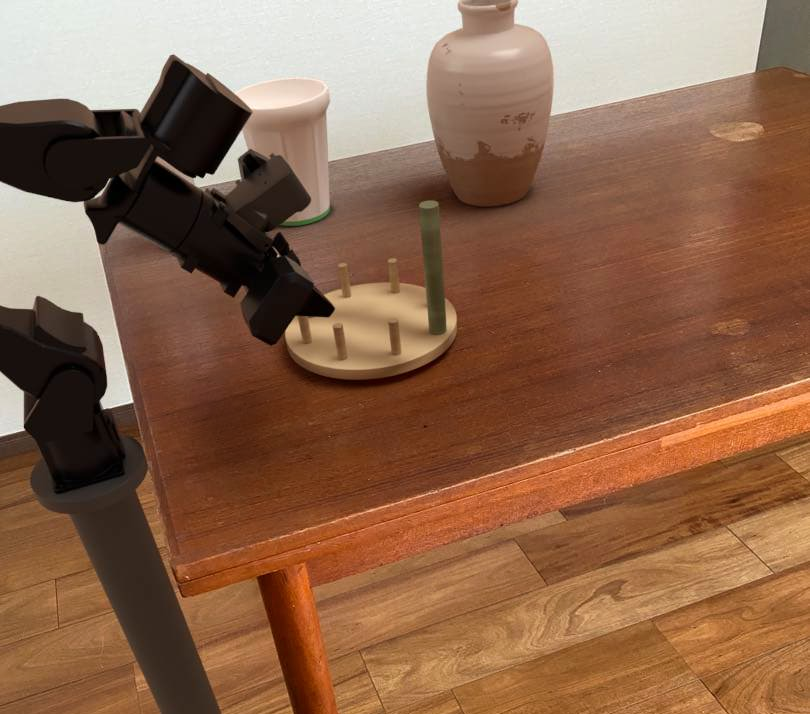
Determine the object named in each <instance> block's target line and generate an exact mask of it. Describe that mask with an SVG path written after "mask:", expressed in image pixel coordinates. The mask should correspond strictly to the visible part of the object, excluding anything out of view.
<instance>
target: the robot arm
mask: <svg viewBox="0 0 810 714" xmlns="http://www.w3.org/2000/svg"><path fill="white" fill-rule="evenodd" d="M160 73H161V74H160V76H159V79H158V81H157V83H156V85H155V87H154V88H153V90H152V92H151V94H150V95H149V97H148V99H147V101H146V102H145V103H144V106H143V108H142V109H141V111H140V110H139V109H138V108H119V109H118V108H117V109H113V108H112V109H89V107H88V106H87V105H85V104H83V103H81V102H80V101H77V100H74V99H70V98H49V99H48V98H47V99H35V100H23V101H22V100H21V101H15V102H11V103H6V104H3V105H0V183H2V184H5V185H7V186H9V187H12V188H14V189H16V190H19V191H21V192H24V193H29V194H31V195H32V194H33V195H37V196H41V197H46V198H51V199H55V200H59V201H63V202H69V203H83V208H84V213H85V215H86V216H87V218H88V220H89V221H90V223H91V226H92V227H93V230H94V234H95V239H96V242H97V243H98V244H99V245H102V246H103V245H106V244H107V243H108V241H109V239H110V238H111V236H112V235H113V232H114V231H115V229H116V227H117V226H118V225H119V226H121V227H123V228H125V229H127V230H128V231H130V232H131V233H133V234H134V235H137V236H138V237H140V238H142V239H143V240H145V241H148V242H149V243H151V244H153V245H154V246H156V247H158V249H159V248H160V249H161V250H162V251H164V252H166V253H168V254H169V255H171V256H172V257H175V258H176V259H177V262H178V264H179V267H180V268H181V269H183V270H184V271H186V272H188V273H190V274H191V275H192V274H193V273H194V271H195V270H196V271H198V272H200V273H202V274H204V275H206V276H207V277H209V278H211V279H212V280H214V281H216V282H218V283H219V286H220V287H221V289H222V291H223V293H224V294H226V295H227V296H230V297H231V298H232V299H234V298H235V297H236V295H237V294H238V292H240V289H241V288H242V286H243V288H244V290H245V292H246V294H245V295H244V297H243V298H242V300H241V301H240V303H239V304H240V305H239V306H240V309H241V314H242V318H243V320H244V322H245V324H246V326H247V328H248V330H249V332H250V334H251V336H252V337H254V338H256V339H257V340H259V341H261V342H262V343H265V344H267V345H268V346H270V347H272V346H274V345H276V344H278V342H279V341H280V340H281V338H282V337H283V335H284V334H285V331H286V329H287V328H288V326H289V325H290V323H291V322H292V320H293V319H294V317H295V316H308V317H327V318H328V317H330V316H331V315H332V313H333V312H334V311H335V307H334V306H333V304H332V303H331V302H330V301H329V300H328V299H327V298H326V297H325V296H324V295H325V294H323V292H321V291H320V289H318V288H317V287H316V286H315V282H314V280H312V278H311V276H310V275H309V274H308V272H307V271H306V270H305V269H304V268H303V267H302V263H301V260H300V258H299V257H298V255H297V253H296V252H295V251H294V249H293V248H290V244H289V242H288V240H287V239H286V238H285V236H284V234H283V233H282V232H281V231H278V232H277V233H276V234H275V236H274V237H273V236H271V235H270V234H268V233H270V232H272V231H274V230H276V229H277V228H278V227H279V226H282V225H281V224H282V223H283V222H285V221H286V220H287V219H289V218H290V217H291V216H292V215H294V214H295V213H296V212H302V211H303V210H304V209H305V208H307V207H308V205H309V204H310V202H311V197H310V195H309V194H308V192H307V191H306V189H305V188H304V186H303V185H302V183H301V182H300V180H299V179H298V177H297V176H296V174H295V173H294V171H293V170H292V169H291V167H290V166H289V164H288V163H287V162H286V161H285V160H284V158H283V157H282V156H281V155H277V156H275V155H274V154H273V153H272V154H271V155H269V156H270V158H271V159H268V158H267V157H265V156H263V155H262V154H260V153H258V152H256V151H254V150H252V149H249V150H248V149H247V150H246V151H245V152H244V153H243V154H241V155H240V156H239V157H237V163H238V168H239V175H240V179H241V180H240V179H237V180H235V182H234V183H235V185H236V186H235V187H234V188H233V189H232V190H231V191H229V192H228V193H227V194H224V193H222V192H221V191H219V190H218V189H216V188H214V187H212V188H211V189H210V188H208V187H206V188H205V190H203V189H201V188H200V187H198V186H197V185H193V184H192V183H190V182H189V181H187V180H186V179H184V178H183V177H181V176H180V175H178V174H176V173H175V172H173V171H172V170H170V169H169V168H167V167H166V166H164V165H163V164H161V163H159V162H158V161H156V158H157V157H160V158H161V159H163V160H164V161H166V162H167V163H168V164H170V165H171V166H172V167H174V168H175V169H177V170H178V171H180V172H181V173H183V174H185V175H187V176H189V177H191V178H194V179H196V178H197V177H198V178H200V179H204V178H205V176H206V175H210V176H211V175H212V176H213V175H215V173H216V172H217V170H219V169H218V168H219V167H220V166H221V164H222V162H223V161H224V159H225V158H226V156H227V154H228V153H229V151H230V150H231V148H232V146H233V145H234V144H235V142H236V140H237V139H238V137H239V135H240V134H241V132H242V129H243V127H244V126H245V124H246V122H247V121H248V119H249V118H250V116H251V114H252V110H251V109H250V108H249V107H248V106H247V105H246V104H245V103H244V102H243V101H242V100H241V99H240V98H239V97H238V96H237V95H235V94H234V93H235V92H233V91H232V90H231V89H230V88H228V87H227V85H225V84H223V83H222V82H221V81H220V80H218V79H217V78H216V77H214V75H212V74H210V73H209V72H206V73H204V72H203V71H202V70H200V69H199V68H197V67H196V66H194V65H191V64H190V63H188V62H185V61H184V60H183V59H181V58H179V57H178V56H177V55H176V54H170V55H169V57H168V58H167V60H166V62H165V63H164V65H163V67H162V69H161V72H160ZM101 192H102V193H101ZM100 193H101V195H99V196H97V195H98V194H100ZM96 196H97V197H96ZM0 373H1V374H2V375H3V376H4V377H6V378H7V380H9V381H10V383H12V384H13V385H14V386H16V387H17V388H18V389H19V390H21V391H22V392H23V430H24V431H25V432H26V433H28V435H29V436H31V437H32V439H33V440H34V442H35V444H36V446H37V449H38V451H39V453H40V455H41V458H42V457H43V460H44V462H45V464H46V466H47V468H48V470H49V472H50V475H51V480H52V489H53V491H54V493H55V494H61V493H65V492H68V491H72V490H75V489H79V488H82V487H86V486H89V485H93V484H96V483H100V482H103V481H107V480H110V479H114V478H117V477H121V476H123V475H124V474H125V469H124V464H123V459H125V457H126V453H125V448H124V444H123V441H122V438H121V435H120V433H121V432H120V431H119V428H118V425H117V422H116V420H115V416H114V414H113V412H112V410H111V408H108V407H106V408H104V406H103V404H102V401H101V400H102V399H103V398H104V396H105V395H106V391H107V388H108V375H107V367H106V360H105V353H104V344H103V342H102V340H101V337H100V336H99V333H98V331H97V330H96V329H95V328H94V327H93V326H92V325H90V324H89V323H87V322H85V320H84V313H83V312H78V311H70V310H68V309H64V308H62V307H61V306H59V305H57V304H55V303H54V302H52V301H51V300H49V299H48V298H46V297H43V296H41V295H36V296H35V298H34V302H33V305H32V308H14V307H13V308H11V307H6V306H4V305H0Z"/></svg>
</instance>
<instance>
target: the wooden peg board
mask: <svg viewBox="0 0 810 714" xmlns="http://www.w3.org/2000/svg"><path fill="white" fill-rule="evenodd" d="M418 211H419V222H420V237H421V247H422V259H423V271H424V273H423V277H424V286H420V285H416V284H411V283H405V282H400V275H399V267H398V259H397V258H394V257H393V258H392V257H391V258H389V259H387V266H388V267H387V268H388V276H389V277H388V278H389V282H370V283H361V284H356V285H351V281H350V275H349V269H348V267H349V266H348V264H347V262H341V263H338V264H337V268H338V275H339V282H340V288H339V289H336V290H332V291H329V292H327V293H325V294H323V295H324V296H325V297H326V298H327V299H328V300H329V301H330V302H331V303H332V304H333V306H334V307H335V311H334V312H333V313H332V315H331V316H330V317H328V318H327V317H308V316H295V317H294V319H293V320H292V322H291V323H290V325H289V326H288V328H287V329H286V330H285V332H284V338H285V344H286V347H287V348H286V349H287V352H288V353H289V355H290V357H291V358H292V359H293V361H294V362H295V363H296V364H298V365H299V366H300V367H301V368H303V369H305V370H307V371H309V372H311V373H314V374H316V375H319V376H323V377H327V378H331V379H339V380H347V381H348V380H351V381H353V380H354V381H355V380H356V381H361V380H362V381H363V380H376V379H383V378H388V377H393V376H398V375H401V374H405V373H408V372H410V371H414V370H417V369H418V368H421V367H423V366H425V365H427V364H429V363H431V362H433V361H434V360H436V359H437V358H438V357H440V356H441V355H443V354H444V353H445V352H447V350H448V349H449V348H450V346H451V345H452V344H453V342H454V340H455V338H456V336H457V333H458V315H457V312H456V308H455V307H454V305H453V303H451V302H450V300H449V299H447V298H446V296H445V294H446V293H445V281H444V280H445V279H444V265H443V248H442V235H441V234H442V233H441V221H440V220H441V219H440V217H441V216H440V205H439V202H438V201H436V200H424V201H422V202H420V203H419V205H418Z"/></svg>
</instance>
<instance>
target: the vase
mask: <svg viewBox="0 0 810 714" xmlns="http://www.w3.org/2000/svg"><path fill="white" fill-rule="evenodd" d="M518 4H519V0H459V1H458V2H457V10H458V12H460V15H461V25H462V27H461V28H457V29H456V30H453V31H451V32H448V33H446V34H445V35H443V37H441V38H440V39H439V40H438V41H436V42H435V44H434V47H433V48H432V50H431V51H430V55H429V59H428V62H427V68H426V79H425V80H426V81H425V82H426V83H425V85H426V102H427V110H428V115H429V120H430V124H431V129H432V134H433V139H434V143H435V146H436V150H437V153H438V157H439V160H440V162H441V165H442V167H443V169H444V172H445V174H446V177H447V179H448V182H449V184H450V187H451V188H452V190H453V192H454V194H455V196H456V197H457V199H458V200H459V201H461V202H462V203H464V204H467V205H471V206H475V207H500V206H504V205H509V204H512V203H515V202H518V201H520V200H522V199H523V198H524V197H526V195H527V194H528V192H529V190H530V188H531V186H532V183H533V181H534V178H535V176H536V173H537V170H538V168H539V165H540V162H541V159H542V155H543V151H544V148H545V145H546V139H547V135H548V131H549V126H550V125H549V124H550V118H551V114H552V113H551V112H552V107H553V101H554V100H553V98H554V87H555V86H554V85H555V80H554V79H555V77H554V76H555V72H554V64H553V57H552V54H551V51H550V47H549V45H548V42H547V40H546V38H545V37H544V36H543V34H541V32H539V31H538V30H536V29H534V28H533V27H529V26H527V25H523V24H520V23H519V24H518V23H515V11H516V8H517V6H518Z"/></svg>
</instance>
